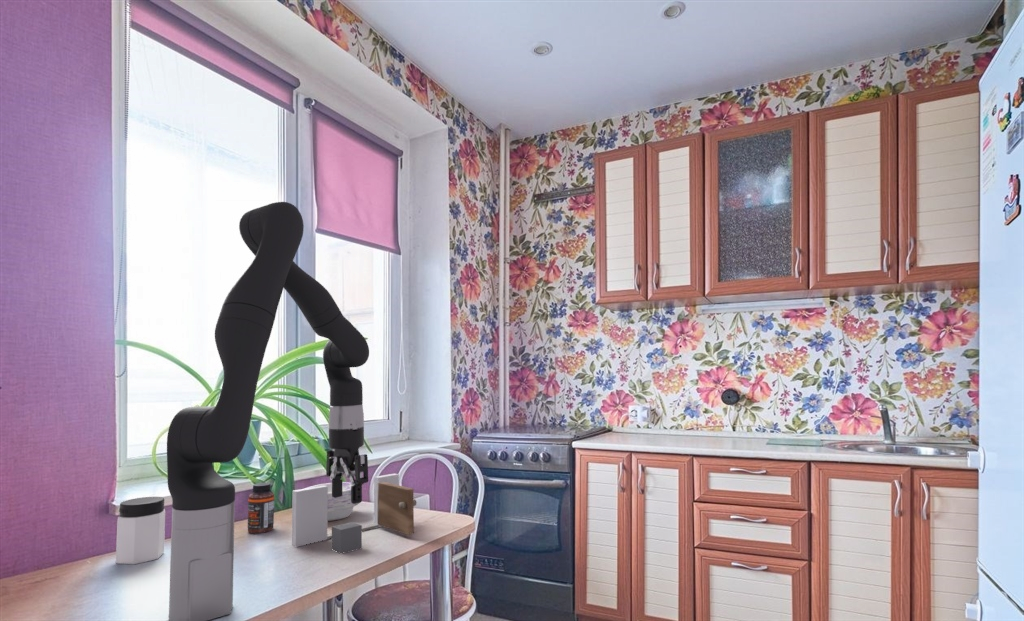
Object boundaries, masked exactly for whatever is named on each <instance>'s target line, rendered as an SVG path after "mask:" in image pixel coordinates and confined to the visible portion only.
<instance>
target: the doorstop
mask: <svg viewBox="0 0 1024 621" xmlns="http://www.w3.org/2000/svg"><path fill="white" fill-rule="evenodd" d="M362 526H363V525H362V524H360V523H356V522H355V521H354V522H353V521H352V522H347V523H342V524H337V525H333V526H331V533H332V539H331V550H332V549H333V550H335V551H337V552H340V553H342V554H344V553H343V552H346V553H349V552H348V551H350V552H352V550H354V551H357V550H361V549H362V547H363V544H362V542H363V541H362V540H363V539H362V536H363V534H362V533H363V531H362ZM360 548H361V549H360ZM356 549H357V550H356ZM333 550H332V551H333ZM335 551H334V552H335ZM337 552H336V553H337ZM340 553H339V554H340Z"/></svg>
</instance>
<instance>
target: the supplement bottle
mask: <svg viewBox="0 0 1024 621" xmlns="http://www.w3.org/2000/svg"><path fill="white" fill-rule="evenodd" d="M247 503H248V504H247V532H248V533H250V534H264V533H268V532H271V531H272V530H274V522H275V521H274V520H275V518H274V517H275V515H274V513H275V493H274V491H272V490H271V482H257V483H254V484H253V485H252V492H251V493H250V494H249V495H248V501H247ZM263 532H264V533H263Z"/></svg>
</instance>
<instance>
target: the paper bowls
mask: <svg viewBox="0 0 1024 621" xmlns="http://www.w3.org/2000/svg"><path fill="white" fill-rule="evenodd" d="M323 485H324V486H328V511H327V522H331V521H332V522H333V521H338V520H342V519H345V518H347V517H349V516H350V515H351V514H352V512H353V510H354V507H355V506H358V505H359V504H360V503H357V504H353V503H351V486H352V485H351V482H350V481H342V496H341V497H337V498H334V497H332V482H328V483H327V482H326V483H320V484H316V485H311V486H306V487H305V488H311V487H317V486H323ZM305 488H303V489H305Z"/></svg>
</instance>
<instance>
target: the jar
mask: <svg viewBox="0 0 1024 621" xmlns="http://www.w3.org/2000/svg"><path fill="white" fill-rule="evenodd" d="M118 509H119V510H118V512H119V516H118V517H117V520H116V521H117V522H116V544H115V546H116V547H115V548H116V549H115V563H116V564H119V565H120V564H121V565H137V564H138V565H139V564H142V563H145V562H146V563H148V562H150V561H154V560H155V561H156V560H159V558H160V557H161V556H162V555H163V554H164V552H165V535H166V534H165V533H166V532H165V531H166V509H165V497H163V496H143V497H136V498H131V499H126V500H124V501H122V502H120V503H119V508H118Z"/></svg>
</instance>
